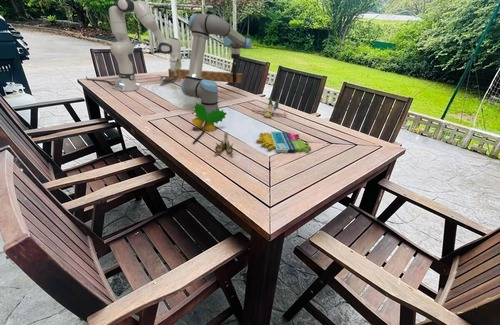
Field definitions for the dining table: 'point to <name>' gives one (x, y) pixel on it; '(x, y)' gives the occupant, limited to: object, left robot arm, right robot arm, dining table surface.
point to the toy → (270, 109)
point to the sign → (283, 142)
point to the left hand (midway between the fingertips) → (176, 74)
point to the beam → (208, 75)
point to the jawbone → (224, 145)
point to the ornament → (207, 117)
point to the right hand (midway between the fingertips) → (234, 81)
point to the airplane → (167, 80)
